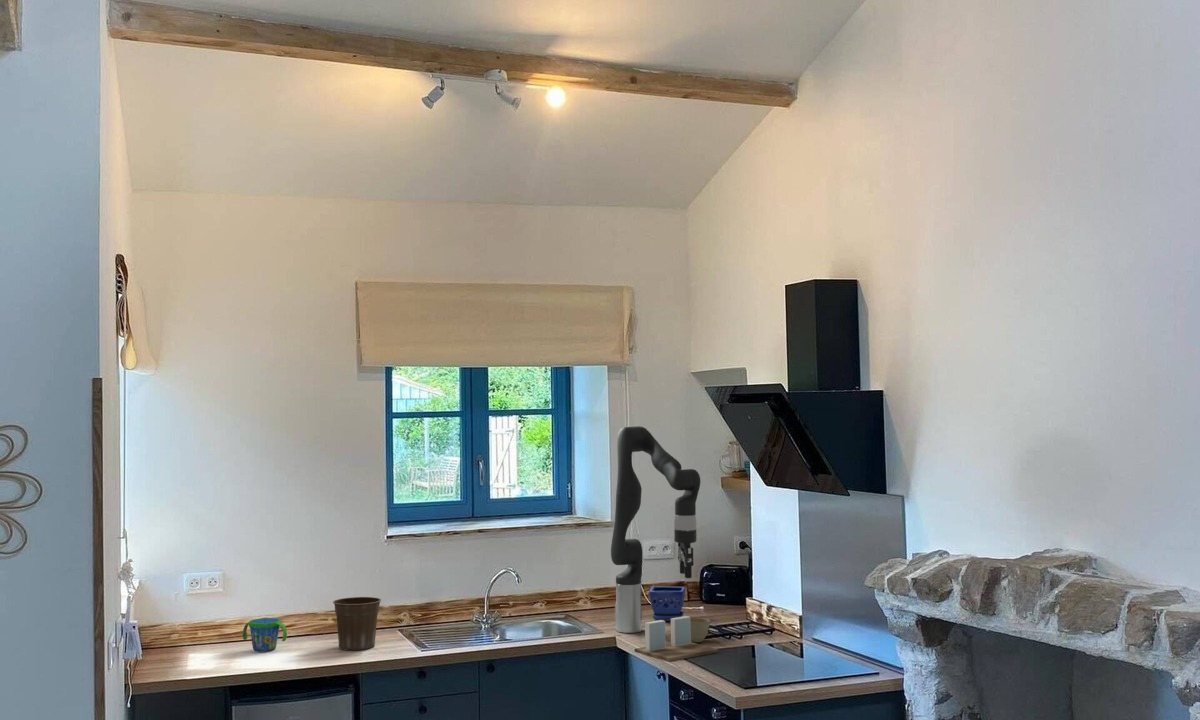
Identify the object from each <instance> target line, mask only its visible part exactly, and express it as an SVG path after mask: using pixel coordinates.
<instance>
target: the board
mask: <svg viewBox="0 0 1200 720" xmlns="http://www.w3.org/2000/svg"><path fill="white" fill-rule="evenodd" d="M718 652H719V648H716V647H711V646H707V645H703V644H700V643H699V644H698V643H697V642H691V644H686V645H681V646H671V641H670V642H666V648H664V649H659V650H653V651H647V650H645V646H643V647H639V648H638V647H637V648H634V653H637V654H640V655H645V656H649V657H652V658H654V659H655V658H656V659H659V660H663V661H666V662H673V661H677V660H683V659H690V658H694V657H699V656H704V655H709V654H713V653H714V654H715V653H718Z"/></svg>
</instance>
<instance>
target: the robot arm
mask: <svg viewBox="0 0 1200 720" xmlns="http://www.w3.org/2000/svg"><path fill="white" fill-rule="evenodd" d="M616 442H617V445H616V446H617V447H616V449H617V476H616V477H617V478H616V483H617V484H616V490H615V491H616V492H615V513H614V525H613V531H612V532H613V533H612V538H611V546H610V557H611V561H612V563H613V565H616V566H627V567H626V568H625V570H624V571H622V572H620V573H619V574H617V575H616V576H615V598H616V600H615V602H616V603H615V604H614V621H615V622H614V624H615V625H614V626H615V630H616V631H617V632H618V633H625V634H626V633H627V634H629V633H630V634H633V633H639V632H641V631H643V626H642V621H643V619H642V614H643V613H642V576H643V558H644V557H643V546H642V543H641V541H640V540H639V539H637V538H627V537H626V536H627V532H628V529H629V526H630V525H631V523H632V521H633V519H634V518H635V517H636V515H637V513H638V512H639V510H640V508H641V503H642V489H643V488H642V484H641V482H640V481H639V480H640V479H639V478H638V476H637V473H635V471H634V470H635V469H634V467H633V453H635V452H636V453H637V452H644V453H646V454H647V455H649V456H650V458H651V463H652V465H653V467H654V468H655V469H656V470H657V471H658V472H659V473H660V474H662V475H663V476H664V477H665V479H666V481H667V482H668V484H669V486H670V487H671V488H672V489H674V490H676V491H684V492H683V495H681V496H679V497H677V498H676V499H675V501H674V502H675V503H674V523H673V524H674V529H673V530H674V534H673V535H674V536H673V537H674V539H673V541H674V542H675V543H677V559H678V562H679V573H680V574H681V575H684V578H685V579H692V571H693V570H692V567H693V566H694V564H695V563H694V547H692V546H691V544H694V543H696V542H697V516H696V515H697V514H696V513H697V512H696V511H697V510H696V502H697V499H698V495H699V491H700V488H701V487H700V486H701V476H700V473H699V471H697V470H696V469H693V468H689V469H688V468H687V469H682V465H681V462H679V460H678V459H677V458H675V457H673V456H672V455H671V454H670V453H669V452H667V451H666V450H665V449H664V447H662V446H661V444H660V442H658V441H657V439H656V438H655V437H654V436H653V435H652V433H651V432H650V431H649V430H648V429H647V428H645V427H644V426H639V425H637V426H623V427H622V428H620V430H619V431H618V434H617V441H616ZM626 538H627V539H626Z"/></svg>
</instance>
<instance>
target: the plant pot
mask: <svg viewBox="0 0 1200 720" xmlns="http://www.w3.org/2000/svg"><path fill="white" fill-rule="evenodd" d="M381 602H382V599H381V598H379V597H374V596H373V597H372V596H355V597H354V596H353V597H343V598H339V599H335V600H333V602H332V603H333V604H334V612H335V614H336V626H337V639H338V648H339V649H340V650H345V651H348V650H352V651H364V650H368V649H372V648H373V647H375V645H376V643H375V642H376V635H377V634H376V633H377V624H378V623H377V622H378V615H379V614H378V613H379V611H380V604H381Z"/></svg>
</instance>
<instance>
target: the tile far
mask: <svg viewBox="0 0 1200 720" xmlns="http://www.w3.org/2000/svg"><path fill="white" fill-rule="evenodd" d="M690 618H691V616H689V615H688V616H687V615H683V616H682V617H677V618H671V621H670V642H671V646H681V645H686V644H691V631H690Z"/></svg>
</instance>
